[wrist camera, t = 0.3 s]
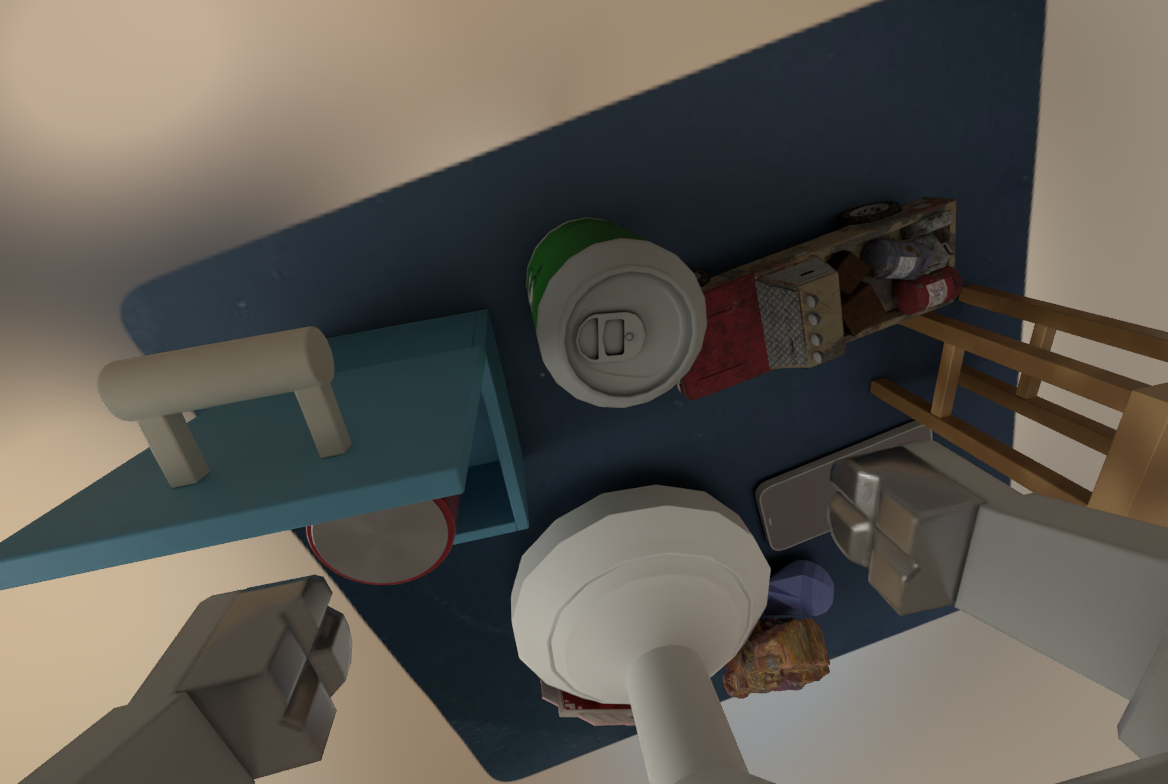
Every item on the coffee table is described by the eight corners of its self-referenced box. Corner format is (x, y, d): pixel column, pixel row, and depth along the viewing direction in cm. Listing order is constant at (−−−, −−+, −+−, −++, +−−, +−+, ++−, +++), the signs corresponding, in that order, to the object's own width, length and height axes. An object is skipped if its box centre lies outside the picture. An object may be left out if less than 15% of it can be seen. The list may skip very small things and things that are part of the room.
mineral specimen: (682, 698, 42) (678, 615, 46) (748, 712, 45) (738, 631, 49) (795, 683, 34) (777, 583, 38) (867, 700, 36) (843, 605, 41)
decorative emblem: (512, 687, 42) (583, 650, 49) (512, 692, 41) (583, 654, 49) (616, 740, 35) (678, 688, 43) (615, 746, 35) (678, 693, 43)
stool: (879, 300, 35) (1174, 405, 20) (976, 282, 35) (1335, 369, 20) (868, 394, 38) (1113, 546, 23) (956, 375, 39) (1252, 511, 23)
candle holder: (720, 426, 37) (913, 656, 20) (756, 601, 46) (911, 864, 29) (470, 514, 37) (443, 823, 20) (555, 672, 46) (588, 981, 28)
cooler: (523, 458, 36) (529, 528, 29) (365, 491, 35) (332, 571, 28) (488, 308, 31) (485, 349, 24) (303, 341, 30) (244, 394, 23)
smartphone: (933, 489, 42) (772, 554, 42) (925, 483, 43) (767, 547, 43) (931, 420, 39) (756, 491, 39) (922, 415, 40) (751, 484, 40)
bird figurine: (838, 622, 44) (765, 604, 47) (838, 556, 43) (765, 543, 47) (821, 665, 37) (739, 640, 41) (821, 588, 37) (739, 570, 40)
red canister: (358, 376, 31) (279, 492, 20) (456, 358, 31) (433, 461, 20) (389, 458, 33) (334, 601, 22) (479, 440, 34) (469, 571, 23)
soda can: (519, 218, 29) (531, 249, 18) (643, 212, 30) (725, 238, 19) (529, 339, 32) (544, 427, 21) (641, 330, 33) (710, 410, 22)
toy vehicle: (640, 287, 32) (679, 320, 25) (900, 189, 32) (1011, 196, 25) (666, 378, 35) (707, 430, 28) (903, 289, 35) (1003, 320, 28)
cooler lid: (464, 494, 12) (417, 323, 11) (-24, 597, 11) (-155, 427, 10) (486, 360, 24) (464, 268, 22) (243, 406, 23) (202, 313, 21)
